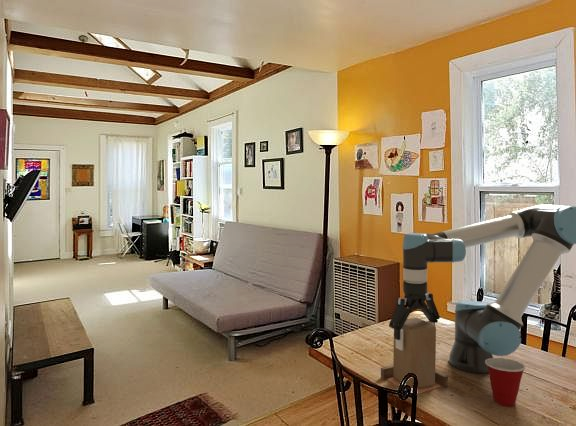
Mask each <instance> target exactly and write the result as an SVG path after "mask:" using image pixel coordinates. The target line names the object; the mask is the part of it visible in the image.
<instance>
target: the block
mask: <svg viewBox="0 0 576 426" xmlns="http://www.w3.org/2000/svg"><path fill="white" fill-rule="evenodd" d="M426 321H427V320H426ZM426 321H425V320H423V319H421V318H419V317H414V318H413V317H411V318H407V320H406V321H405V323H404V325H403V327H402V330H403V350H402V351H401V350H399V349H397V348H396V339H395V338H394V337H393V364H392V365H393V376H394V378H395V379H396V380H397V381H399V382H401V380H402V379H403V377H404V376H405V375H406V374H408V373H414V374H416V375H417V377H418V389H419V388H424V387H429V386H433V385H435V370H436V356H437V355H436V352H437V351H436V350H437V347H436V344H437V339H436V338H437V328H436V325H435V326H434V325H432V324H430V323H428V322H426ZM398 326H399V325H398ZM406 385H409V386H410V387H411V388H413V378H410V379H409V380H408V381H407V382H406Z"/></svg>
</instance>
